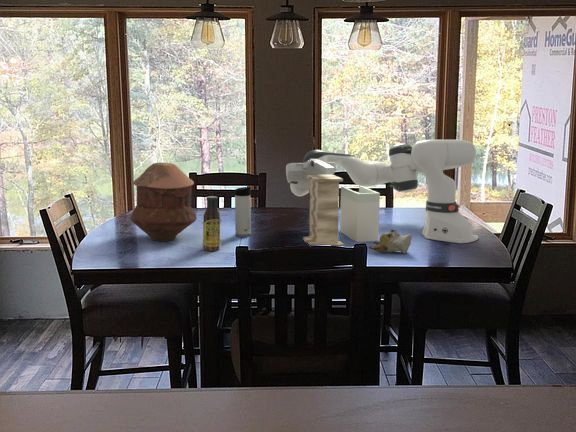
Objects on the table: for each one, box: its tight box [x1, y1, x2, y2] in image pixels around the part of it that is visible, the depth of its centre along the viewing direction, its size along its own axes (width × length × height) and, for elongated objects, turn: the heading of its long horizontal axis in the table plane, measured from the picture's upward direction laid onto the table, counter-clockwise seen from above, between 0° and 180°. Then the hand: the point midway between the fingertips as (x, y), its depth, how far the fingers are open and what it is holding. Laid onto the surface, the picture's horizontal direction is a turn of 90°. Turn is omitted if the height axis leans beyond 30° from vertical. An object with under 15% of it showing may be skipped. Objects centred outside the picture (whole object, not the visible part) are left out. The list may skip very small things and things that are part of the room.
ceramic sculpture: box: [368, 229, 413, 255], centre depth 237 cm, size 11×9×15 cm
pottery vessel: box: [130, 162, 197, 242], centre depth 255 cm, size 26×26×30 cm
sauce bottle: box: [202, 195, 221, 252], centre depth 238 cm, size 7×6×20 cm
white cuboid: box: [339, 185, 381, 243], centre depth 262 cm, size 20×9×19 cm, turn 14°
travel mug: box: [234, 186, 252, 238], centre depth 262 cm, size 6×7×20 cm
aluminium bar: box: [309, 159, 335, 175], centre depth 248 cm, size 22×3×2 cm, turn 15°
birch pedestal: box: [302, 174, 346, 247], centre depth 248 cm, size 16×12×26 cm
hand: (315, 161), depth 255 cm, fingers closed on aluminium bar, 3 cm apart
